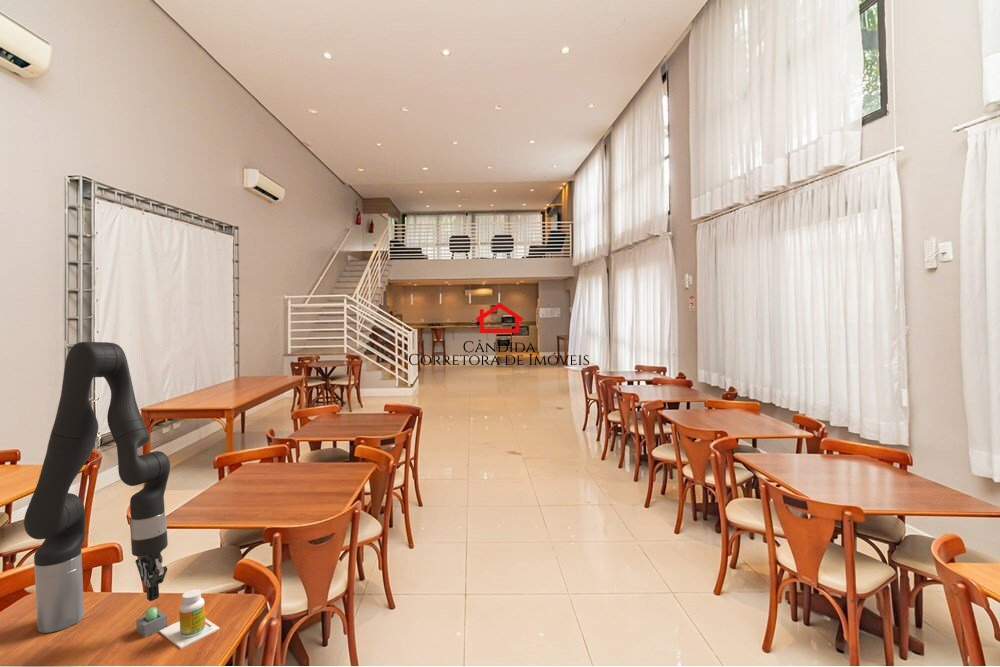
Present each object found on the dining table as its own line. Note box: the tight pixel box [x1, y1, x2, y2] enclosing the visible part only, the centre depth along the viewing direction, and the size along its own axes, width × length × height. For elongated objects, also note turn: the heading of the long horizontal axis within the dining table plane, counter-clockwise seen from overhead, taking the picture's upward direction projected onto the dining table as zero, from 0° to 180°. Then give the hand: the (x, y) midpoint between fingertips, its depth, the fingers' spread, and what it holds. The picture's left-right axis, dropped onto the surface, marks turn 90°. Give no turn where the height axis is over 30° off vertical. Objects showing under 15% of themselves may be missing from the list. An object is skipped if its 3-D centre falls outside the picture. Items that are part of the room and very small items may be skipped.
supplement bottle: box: [178, 588, 206, 638], centre depth 124 cm, size 5×5×10 cm
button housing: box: [135, 609, 168, 638], centre depth 126 cm, size 5×5×3 cm
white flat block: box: [158, 617, 221, 650], centre depth 125 cm, size 12×9×1 cm
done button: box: [145, 606, 158, 623], centre depth 126 cm, size 2×2×3 cm
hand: (153, 598), depth 127 cm, fingers closed
